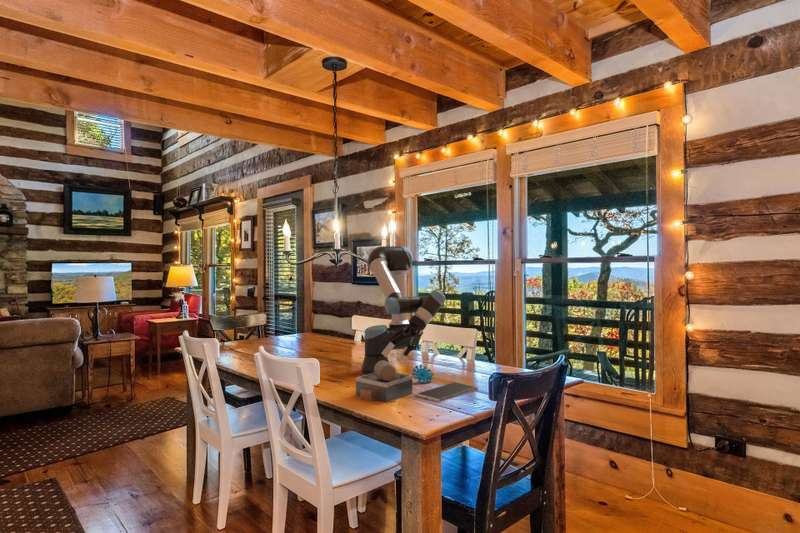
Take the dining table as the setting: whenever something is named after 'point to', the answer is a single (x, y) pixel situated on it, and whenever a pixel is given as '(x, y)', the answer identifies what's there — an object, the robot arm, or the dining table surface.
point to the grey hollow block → (383, 387)
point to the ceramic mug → (385, 371)
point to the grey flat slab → (446, 392)
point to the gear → (422, 374)
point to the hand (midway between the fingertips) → (391, 358)
